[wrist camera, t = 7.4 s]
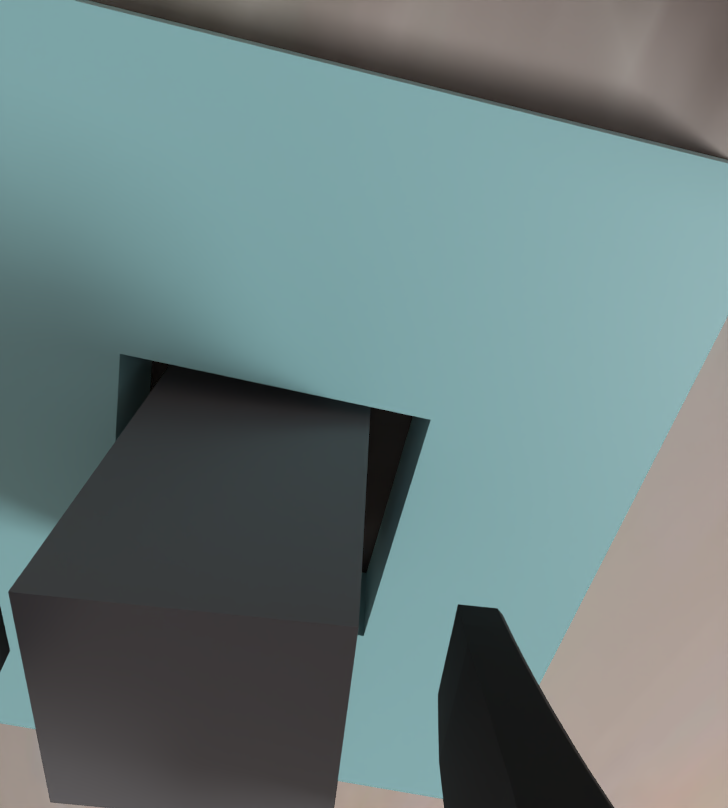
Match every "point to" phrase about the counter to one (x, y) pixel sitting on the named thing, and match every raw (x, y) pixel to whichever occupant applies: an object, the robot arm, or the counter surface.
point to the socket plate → (349, 314)
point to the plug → (202, 603)
